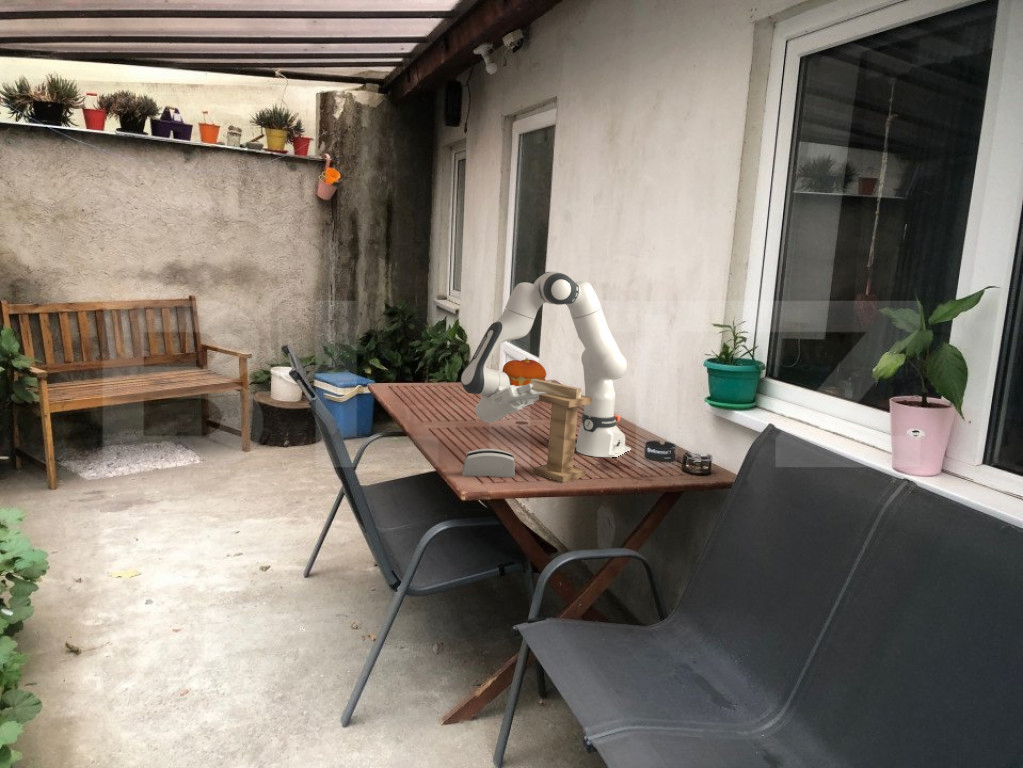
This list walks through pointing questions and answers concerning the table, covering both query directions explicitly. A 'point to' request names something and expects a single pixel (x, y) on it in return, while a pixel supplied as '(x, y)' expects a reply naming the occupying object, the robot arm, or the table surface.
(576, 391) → the batten
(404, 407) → the table surface
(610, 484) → the table surface
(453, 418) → the table surface
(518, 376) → the pumpkin
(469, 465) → the grey arched block
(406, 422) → the table surface
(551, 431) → the stand
